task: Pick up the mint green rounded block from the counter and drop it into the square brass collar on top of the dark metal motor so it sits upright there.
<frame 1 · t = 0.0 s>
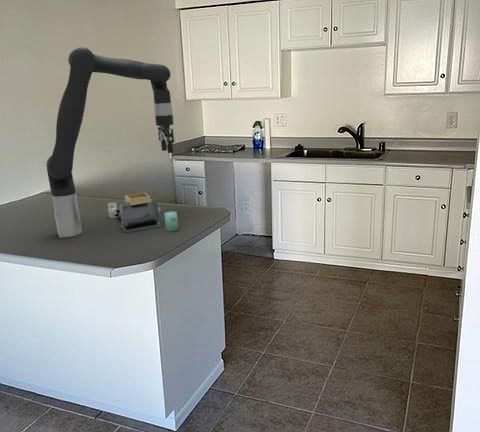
hand: (167, 151, 207), 29 cm above the worktop, tool pointing down, fingers open, 8 cm apart
valve: (117, 219, 217), on the worktop
mint green rounded block: (172, 229, 196), on the worktop
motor: (140, 226, 202), on the worktop
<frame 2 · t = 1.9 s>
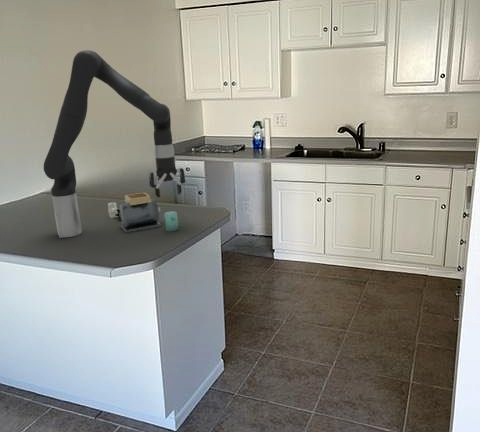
hand: (168, 195, 192), 14 cm above the worktop, tool pointing down, fingers open, 8 cm apart
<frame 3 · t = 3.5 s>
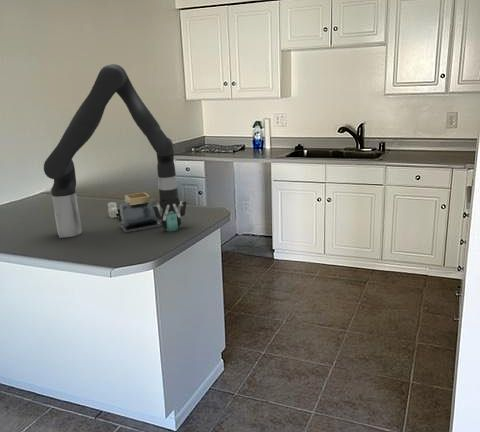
hand: (171, 227, 196), 1 cm above the worktop, tool pointing down, fingers closed on mint green rounded block, 5 cm apart
mint green rounded block: (172, 229, 196), on the worktop, touching gripper
everything else where it was.
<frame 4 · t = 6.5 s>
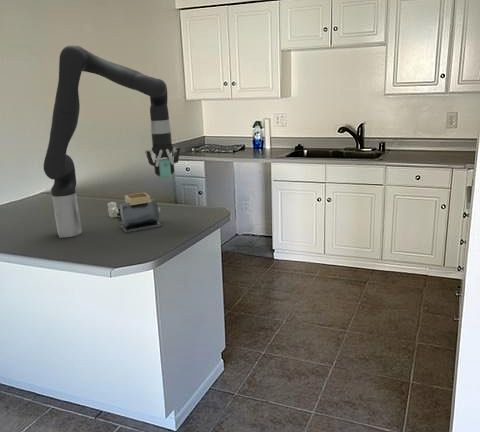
hand: (164, 174, 190), 23 cm above the worktop, tool pointing down, fingers closed on mint green rounded block, 5 cm apart
mint green rounded block: (165, 176, 190), point 22 cm above the worktop, touching gripper
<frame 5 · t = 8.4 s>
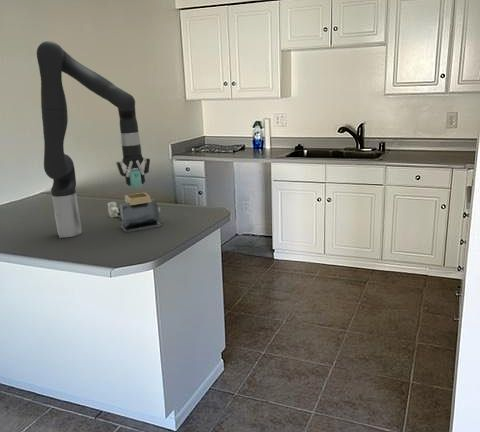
hand: (135, 184, 197), 18 cm above the worktop, tool pointing down, fingers closed on mint green rounded block, 5 cm apart
mint green rounded block: (136, 186, 197), point 17 cm above the worktop, touching gripper
when the fingers open (14 cm above the worktop, at t = 9.6 s): mint green rounded block drops 1 cm, resting on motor.
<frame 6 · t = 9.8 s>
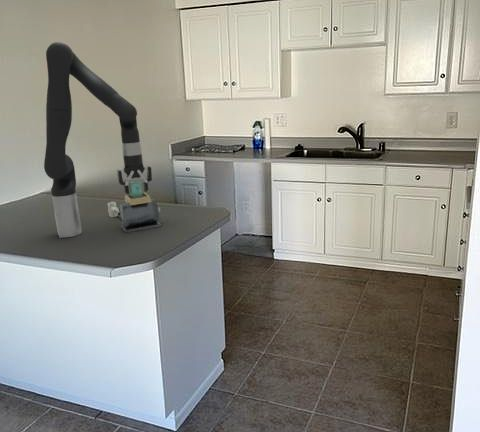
hand: (136, 192, 198), 15 cm above the worktop, tool pointing down, fingers open, 7 cm apart
mint green rounded block: (137, 199, 199), point 12 cm above the worktop, touching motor
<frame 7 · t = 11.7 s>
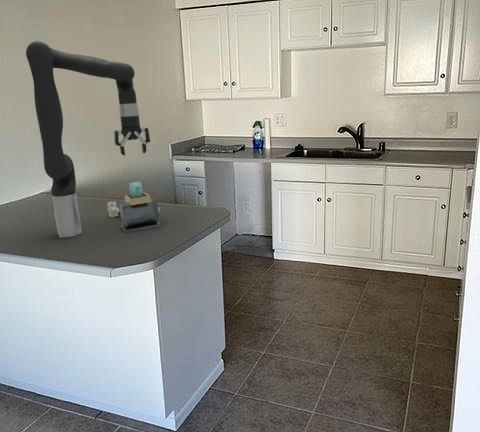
hand: (134, 154, 199), 30 cm above the worktop, tool pointing down, fingers open, 8 cm apart
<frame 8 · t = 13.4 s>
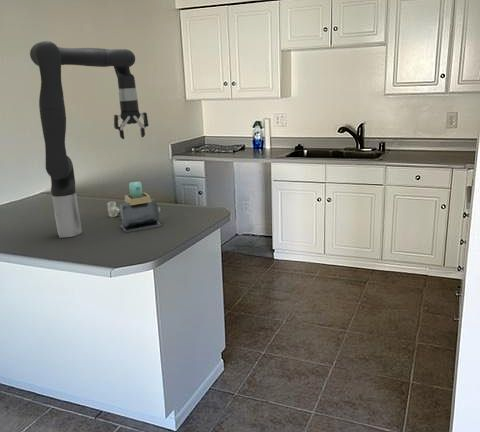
hand: (132, 138, 205), 36 cm above the worktop, tool pointing down, fingers open, 8 cm apart
at the end: mint green rounded block 0.2 cm off-centre on the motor, point 12.1 cm above the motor's base; mint green rounded block tilted 2°; the gripper is holding nothing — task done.
